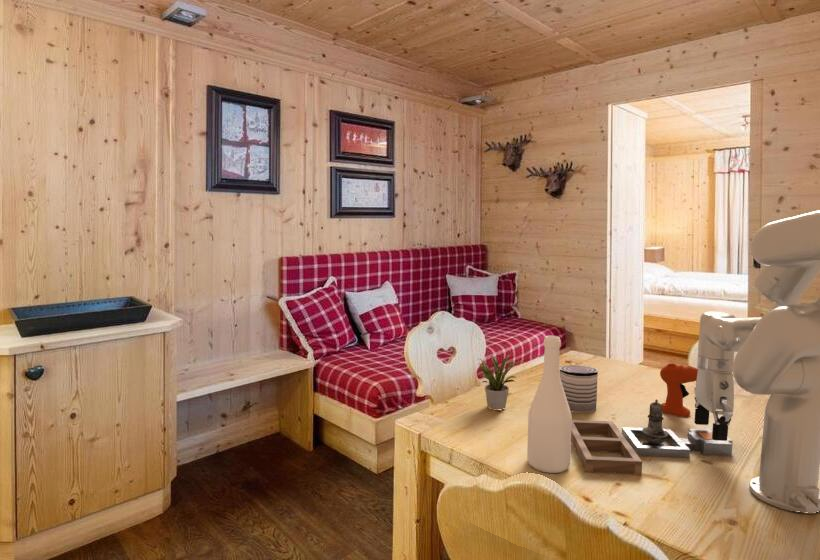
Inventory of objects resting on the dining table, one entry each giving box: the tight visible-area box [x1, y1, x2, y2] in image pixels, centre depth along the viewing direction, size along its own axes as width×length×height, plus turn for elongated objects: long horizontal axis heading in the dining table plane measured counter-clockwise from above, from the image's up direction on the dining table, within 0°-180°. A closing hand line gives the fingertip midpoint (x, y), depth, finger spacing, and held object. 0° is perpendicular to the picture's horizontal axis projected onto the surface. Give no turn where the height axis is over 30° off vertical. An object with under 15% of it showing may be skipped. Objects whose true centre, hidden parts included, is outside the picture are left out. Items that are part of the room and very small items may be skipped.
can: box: [559, 364, 600, 414], centre depth 154 cm, size 11×11×12 cm
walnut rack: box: [571, 419, 643, 475], centre depth 125 cm, size 22×12×3 cm, turn 174°
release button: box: [698, 433, 713, 440], centre depth 127 cm, size 4×4×3 cm
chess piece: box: [641, 398, 668, 446], centre depth 127 cm, size 6×6×12 cm
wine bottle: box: [526, 335, 573, 474], centre depth 117 cm, size 10×10×30 cm
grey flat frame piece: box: [621, 426, 733, 459], centre depth 127 cm, size 12×23×3 cm, turn 84°
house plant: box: [477, 354, 526, 409], centre depth 153 cm, size 14×14×16 cm
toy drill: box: [659, 362, 698, 418], centre depth 146 cm, size 5×19×15 cm, turn 56°
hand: (710, 431), depth 126 cm, fingers open, 8 cm apart
